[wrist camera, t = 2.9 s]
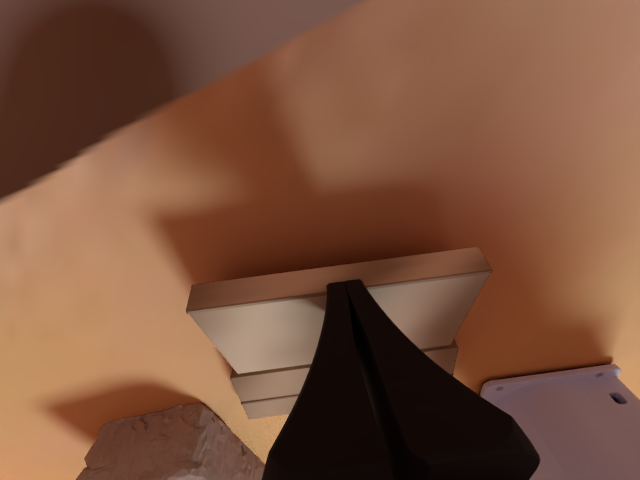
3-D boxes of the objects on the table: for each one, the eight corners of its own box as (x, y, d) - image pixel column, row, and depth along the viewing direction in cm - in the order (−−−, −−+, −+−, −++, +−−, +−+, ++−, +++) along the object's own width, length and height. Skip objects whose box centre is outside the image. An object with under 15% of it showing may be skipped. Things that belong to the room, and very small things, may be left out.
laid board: (448, 330, 18) (459, 348, 17) (441, 374, 20) (449, 392, 19) (233, 360, 18) (230, 379, 17) (250, 400, 20) (248, 420, 19)
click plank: (478, 246, 12) (492, 270, 12) (442, 325, 18) (450, 346, 17) (191, 284, 12) (185, 311, 12) (239, 353, 17) (237, 375, 17)
